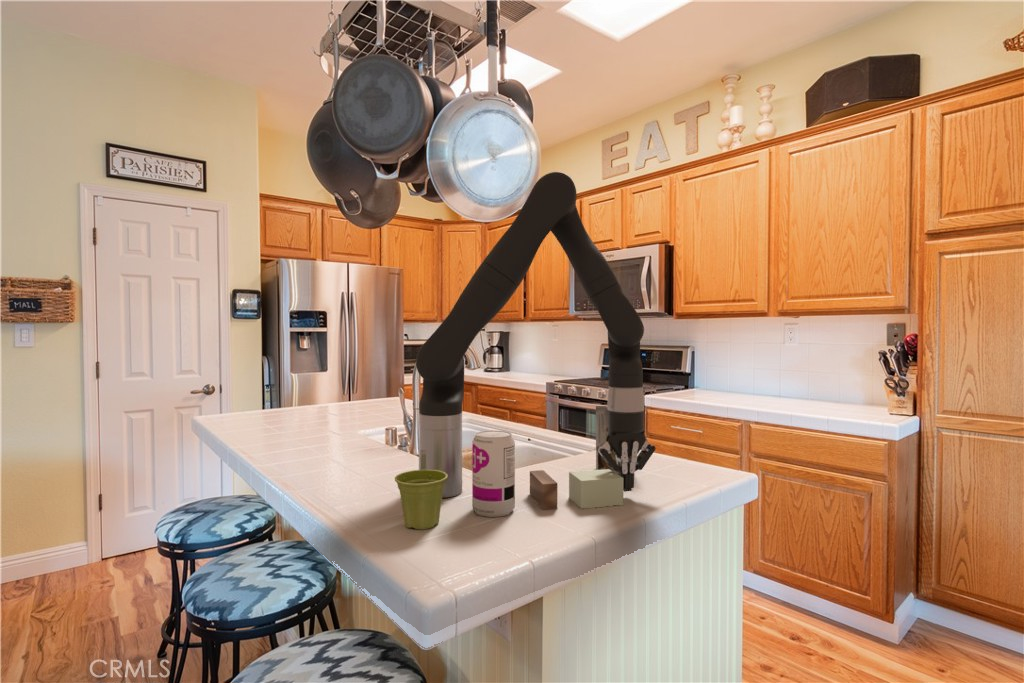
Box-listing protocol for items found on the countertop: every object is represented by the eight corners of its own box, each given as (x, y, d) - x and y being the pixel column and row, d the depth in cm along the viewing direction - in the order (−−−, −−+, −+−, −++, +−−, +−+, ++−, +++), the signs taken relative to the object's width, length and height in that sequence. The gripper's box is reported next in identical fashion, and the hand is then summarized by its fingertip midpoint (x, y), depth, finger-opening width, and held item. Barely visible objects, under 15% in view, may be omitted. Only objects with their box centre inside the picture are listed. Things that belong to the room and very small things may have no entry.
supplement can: (483, 521, 94) (483, 439, 94) (465, 507, 101) (466, 432, 101) (522, 514, 98) (522, 435, 98) (502, 501, 105) (502, 428, 105)
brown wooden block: (542, 509, 100) (542, 484, 100) (529, 494, 110) (529, 470, 110) (557, 508, 101) (557, 483, 101) (543, 493, 111) (543, 470, 111)
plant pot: (400, 537, 86) (400, 486, 86) (390, 519, 95) (390, 472, 95) (454, 529, 90) (454, 480, 90) (439, 512, 99) (439, 467, 99)
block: (581, 508, 101) (581, 480, 101) (569, 497, 108) (569, 471, 107) (623, 505, 103) (623, 478, 103) (608, 494, 110) (608, 469, 110)
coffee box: (631, 468, 131) (631, 405, 131) (634, 475, 125) (634, 409, 125) (595, 467, 132) (595, 405, 132) (596, 474, 126) (597, 408, 126)
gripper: (603, 412, 103) (604, 498, 103) (663, 409, 105) (664, 493, 106) (589, 407, 110) (590, 487, 110) (646, 404, 113) (646, 483, 113)
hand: (626, 490), depth 108 cm, fingers closed
